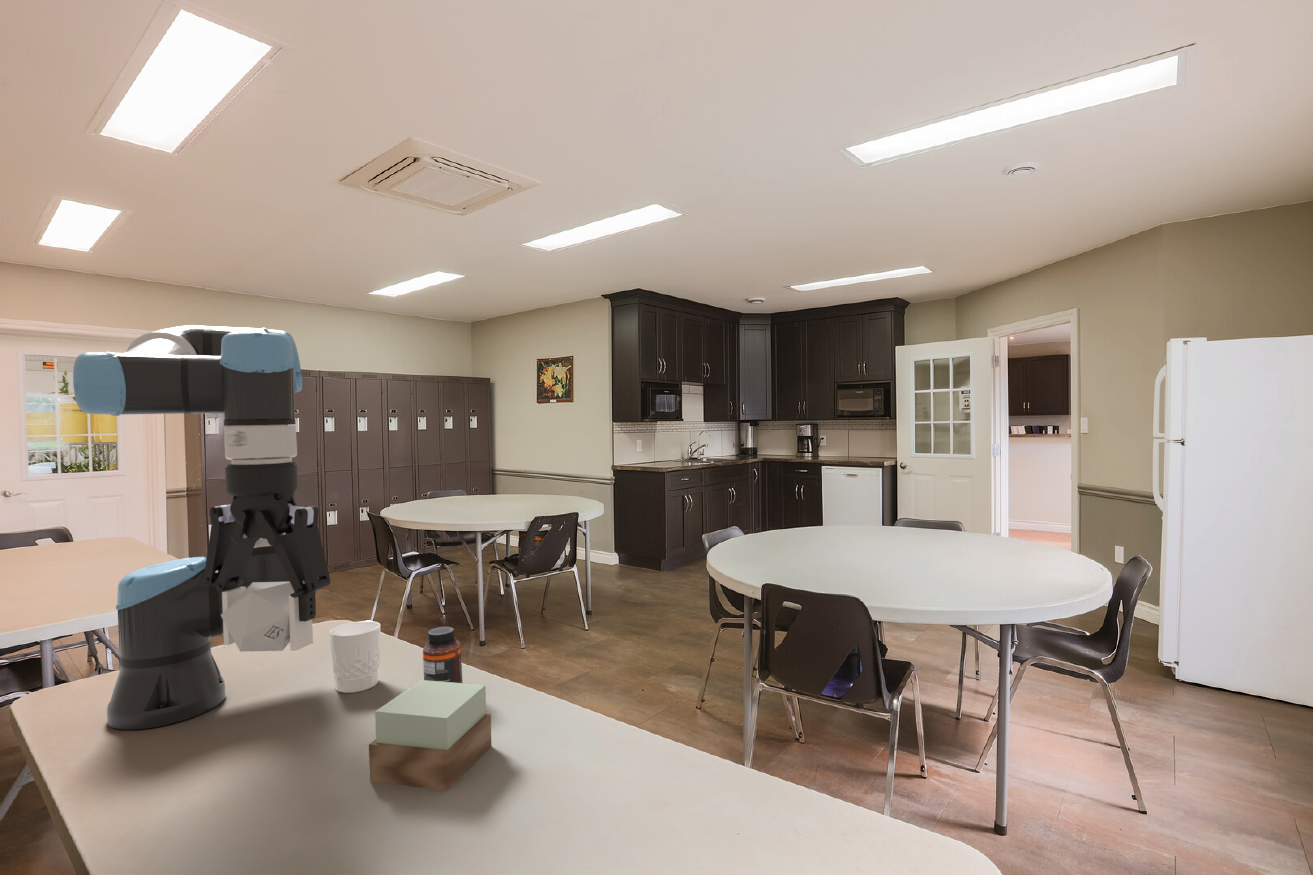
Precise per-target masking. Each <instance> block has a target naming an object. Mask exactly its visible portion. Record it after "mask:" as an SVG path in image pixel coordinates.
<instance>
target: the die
mask: <svg viewBox="0 0 1313 875" xmlns="http://www.w3.org/2000/svg"><path fill="white" fill-rule="evenodd" d="M292 593H294V590H293V588H292V585H291V583H290V582H253V583H252V584H251V585H250V586H249V587H248V588H247V589H246V590H245V591H244V592H243V593H242V594H241V595H240V596H239V597H238V598H237V599H236V600H235V601H234V602H233V603H232V604H231V605H230V606H229V607H228V608H227V609H226V610H225V611H224V612H223V613H222V614H221V617H222V619H223V621H224V622H225V624H226V626H227V628H228V630H229V632H230V634H231V635H232V637H233V639H234V641H235V643H234V644H235V645H236V646H237V648H238V650H239V652H279V651H280V652H282V651H284V650H285V648H286V647H287V646H288V645H289V644H290V621H289V596H290V594H292Z"/></svg>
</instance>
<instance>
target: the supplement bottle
mask: <svg viewBox="0 0 1313 875" xmlns="http://www.w3.org/2000/svg"><path fill="white" fill-rule="evenodd" d="M422 660H423V661H422V663H423V664H422V665H423V667H422V668H423V680H427V681H439V682H452V683H463V667H462V666H463V665H462V664H463V663H462V647H461V643H460V641H459V640H457V639H456V638H455V629H454V628H453V627H451V626H439V627H435V628H432V629H430V630H428V642H427V643H426V644H425V645H424V647H423V649H422Z"/></svg>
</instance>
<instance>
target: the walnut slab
mask: <svg viewBox="0 0 1313 875" xmlns="http://www.w3.org/2000/svg"><path fill="white" fill-rule="evenodd" d="M491 716H492V713H491V712H490V713H489V712H486V714H485V715H484V716H483V717H482V718H481V719H480V720H479V721H478V722H477V723H476V724H475V725H474V726H473V727H472V728H470V729H469V730H468V731H467V732H466V733H465V734H464V735H463V736H462V737H461V738H460V739H459V740H458V741H457V742H456V743H455V744H453V745H452V746H451V747H450V748H449V749H448V750H443V749H433V748H424V747H414V746H404V745H394V744H385V743H376V738H375V739H374V740H372V741H371V742H370V743H368V763H369V764H368V765H369V766H368V767H369V768H368V770H369V781H370V782H377V783H383V784H392V785H399V786H408V787H415V788H423V789H428V790H429V789H431V790H436V791H446V792H448V791H449V790H450V789H451V788H452V787H453V786H455V784H457V782H458V781H460V779H461V778H462V777H463V776H464V775H465V774H466V773H467V772H469V770H470V769H471V768H472V767H473V766H474V765H475V764H476V763H477V762H478V761H479V760H480V759H481V758H482V757H483V756H484V755H485V754H486V753H487V752H488V750H490V748H492V717H491Z"/></svg>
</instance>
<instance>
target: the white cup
mask: <svg viewBox="0 0 1313 875" xmlns="http://www.w3.org/2000/svg"><path fill="white" fill-rule="evenodd" d="M329 635H330V650H331V661H332V669H333V675H334V688H335V690H336V691H337V692H338V693H339V692H340V693H345V694H347V693H350V694H351V693H358V692H363V691H367V690H369V689H371V688H373V687H375V686H376V685H377V684H378V682H379V672H380V671H379V669H380V664H381V663H380V662H381V661H380V656H381V623H380V622H378V621H373V620H361V621H353V622H346V623H343V624H340V625H337V626H335V627H333V628H332V629H330V630H329Z"/></svg>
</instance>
